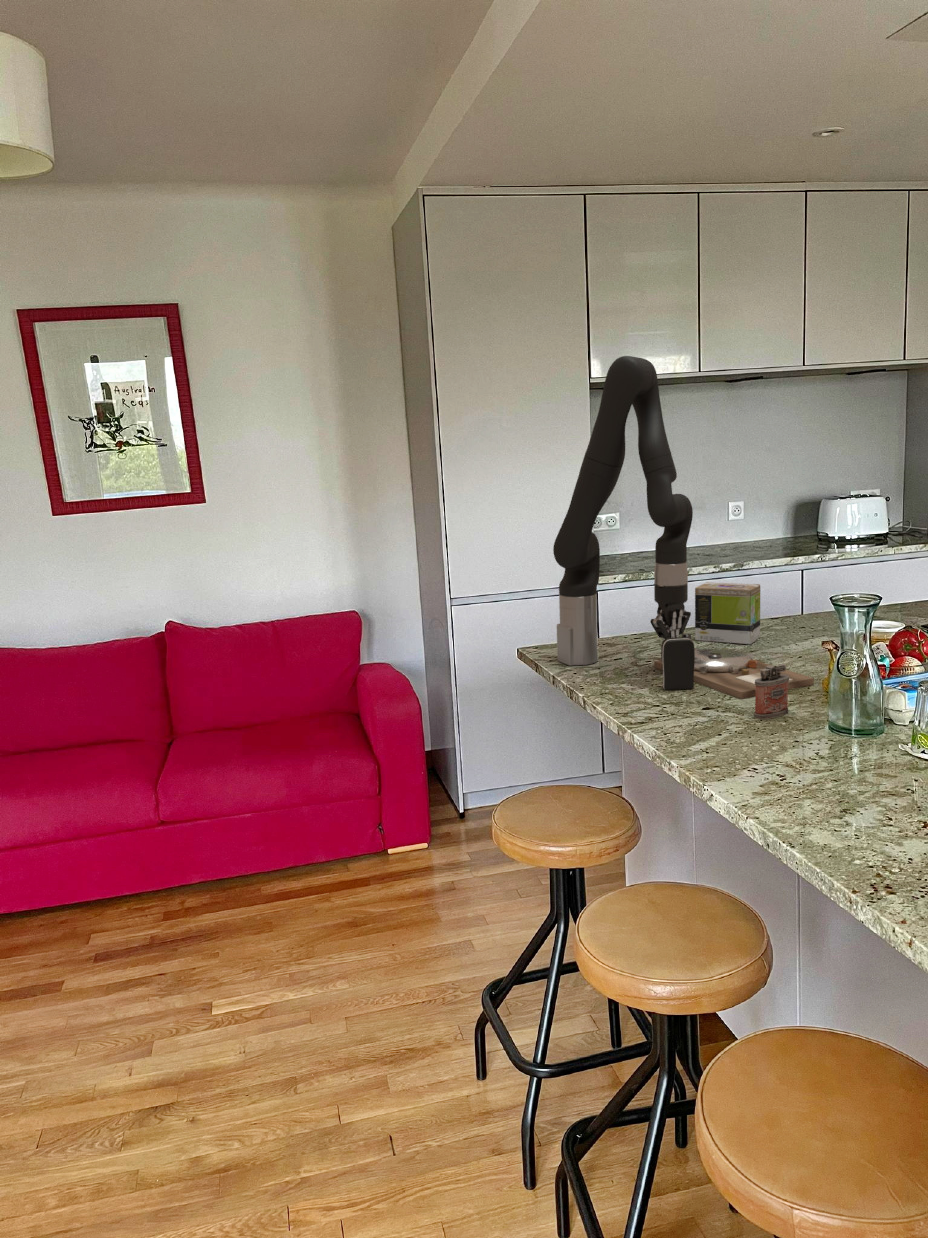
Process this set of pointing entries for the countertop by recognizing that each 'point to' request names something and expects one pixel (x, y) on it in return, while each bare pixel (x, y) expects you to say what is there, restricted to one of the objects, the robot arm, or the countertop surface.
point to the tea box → (727, 612)
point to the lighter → (771, 693)
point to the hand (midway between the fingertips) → (670, 654)
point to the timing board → (742, 680)
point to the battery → (678, 663)
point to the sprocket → (721, 660)
